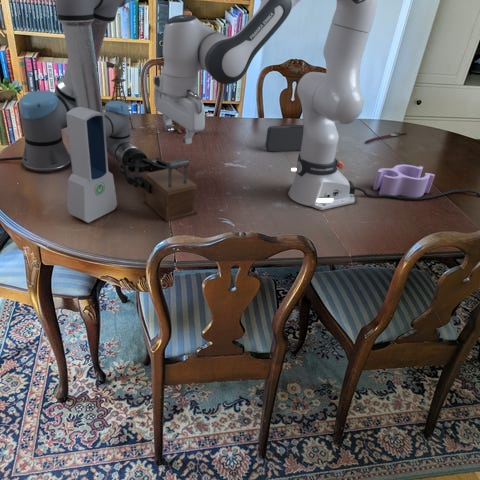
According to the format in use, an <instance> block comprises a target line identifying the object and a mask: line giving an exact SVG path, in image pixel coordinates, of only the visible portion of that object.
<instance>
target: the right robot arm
mask: <svg viewBox="0 0 480 480" xmlns="http://www.w3.org/2000/svg"><path fill="white" fill-rule="evenodd" d="M300 2H301V0H260V4H259V6H258V9H257V10H256V12H255V13H254V14H253V15H252V17H250V19H249V20H248V21H247V22H246V23H245V24H244V25H243V27H242V28H240V30H239V31H238V32H237V33H235V34H234V35H232V36H227V35H225V34H223V33H222V32H220V31H217V30H216V29H213V28H211V27H209V26H207V25H206V24H205V23H203V22H202V21H201V20H200V19H198V17H197V16H196V15H191V14H179V15H174V16H172V17H170V18H169V19H168V20H166V22H165V25H164V29H163V37H162V58H163V67H162V73H161V75H154V76H153V78H152V80H153V81H152V83H153V85H154V87H153V88H154V90H153V99H154V107H155V109H156V111H157V112H159V113H160V114H162V119H163V122H164V125H165V126H164V127H165V131H166V132H168V133H173V132H174V131H175V130H174V129H175V127H174V125H172V122H173V121H174V123H175V122H176V123H178V124H180V125H181V126H180V127H182V128H185V132H186V133H185V135H183V136H182V138H183V139H182V142H183V143H184V144H186V145H191V144H192V142H193V137H194V135H195V134H196V133H199V132H200V133H201V132H203V131H204V129H205V127H206V113H205V112H206V111H205V110H206V109H205V105H204V102H203V100H202V99H201V96H200V94H198V75H199V72H200V71H205V72H207V73H208V74H209V75H210V76H211V78H213V80H215V81H216V83H217V82H218V83H219V84H222V85H232V84H234V83H237V82H239V81H240V80H242V79H243V77H244V76H245V74H246V73H247V71H248V70H249V67H250V65H251V64H252V61H253V59H254V58H255V56H256V55H257V54H258V52H259V51H260V50H261V49H262V48H263V47H264V45H266V43H267V42H268V41H269V40H270V39H271V38H272V37H273V36H274V34H275V33H276V32H277V30H279V28H280V27H281V26H282V24H283V23H284V22H285V21H286V20H287V18H288V17H289V15H290V14H291V11H292V10H293V9H294V8H295V7H296V5H298V3H300ZM377 3H378V0H336V6H335V10H334V13H333V16H332V19H331V23H330V25H329V29H328V33H327V36H326V40H325V43H324V46H323V51H322V52H323V53H322V54H323V57H324V61H325V66H326V67H325V72H320V71H311V72H310V71H309V72H307V73H305V74H304V75H303V76H301V78H300V79H299V81H298V84H297V89H296V93H297V96H298V98H299V101H300V104H301V105H300V106H301V111H302V113H301V114H302V123H303V124H302V125H303V139H302V145H301V150H300V151H299V153H298V156H297V161H296V166H295V167H291V170H290V171H291V172H295V174H294V175H295V176H294V178H293V181H292V184H291V186H290V188H289V190H288V193H287V194H288V196H289V198H290V199H291V200H292V201H294V202H296V203H298V204H300V205H303V206H307V207H312V208H315V209H317V210H319V211H324V210H328V209H332V208H338V207H341V206H345V205H346V206H347V205H351V204H354V203H355V202H356V198H355V196H354V195H355V191H356V190H357V191H360V192H362V193H363V195H365V196H366V197H369V198H376V199H377V198H388V199H389V198H390V199H398V200H403V201H404V200H405V201H420V200H421V201H422V200H423V201H424V200H429V199H434V198H438V197H441V196H446V195H450V194H454V193H455V194H456V193H471V194H475V193H476V194H475V195H477V196H478V197H479V198H480V192H478V191H476V190H473V189H452V190H448V191H445V192H440V193H437V194H434V195H428V196H421V197H406V196H401V195H396V196H393V195H380V194H370V193H368V192H367V191H366V190H365V189H364V188H361V187H359V186H355V185H354V184H353V182H352V181H351V180H348V178H346V176H345V175H344V174H343V173H342V172H341V171H339V170H338V169H340V170H342V169H344V167H345V163H343V162H342V161H341V160H338V159H337V158H336V155H337V154H336V153H337V149H338V144H339V140H340V139H339V138H340V137H339V132H338V129H337V127H336V124H340V125H350V124H353V122H355V121H357V119H359V117H360V116H361V114H362V111H363V110H364V98H363V95H362V93H361V87H360V71H361V65H362V64H361V63H362V59H363V55H364V52H365V49H366V45H367V42H368V39H369V36H370V34H371V30H372V27H373V24H374V21H375V16H376V11H377V5H378V4H377ZM173 128H174V129H173ZM195 132H196V133H195ZM465 191H466V192H465Z"/></svg>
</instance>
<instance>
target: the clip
mask: <svg viewBox="0 0 480 480" xmlns="http://www.w3.org/2000/svg"><path fill="white" fill-rule="evenodd" d="M423 169H424V166H422V165H419V166H416V165H411V164H396V165H395V166H394V167H391V168H388V167H387V168H385V167H381V168H379V169H378V170H377V174H376V177H375V181H374V184H373V188H372V189H373V191H378V189H379V192H378V195H393V196H401V197H412V198H416V197H424V194H429V193H430V190H431V188H432V185H433V182H434V179H435V175H436V174H434V173H429V172H424V176H422V177H421V175H422V173H423Z"/></svg>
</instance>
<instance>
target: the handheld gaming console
mask: <svg viewBox="0 0 480 480" xmlns="http://www.w3.org/2000/svg"><path fill="white" fill-rule="evenodd" d="M302 139H303V124H292V125H291V124H290V125H289V124H286V125H285V124H284V125H283V124H281V125H270V126H268V127H267V130H266V139H265V145H264V146H265V150H267V151H268V152H289V151H290V152H292V151H294V152H295V151H301V145H302Z"/></svg>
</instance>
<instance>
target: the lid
mask: <svg viewBox="0 0 480 480" xmlns="http://www.w3.org/2000/svg"><path fill="white" fill-rule="evenodd" d="M166 162H167V168H168V169H165V170H160V171H155V172H145V179H146V178H148V179H149V180H150V181H151V182H152V183H153V184H155V185H156V186H157V187H158V188H159V189H161V190H162V191H163V192H164V193H165V194H167V195H171V194H175V193H179V192H183V191H187V190H192V189H195V190H196V189H197V184H196V183H194V182H193V181H192V180H190V179H189V178H188V167H189V166H190V161H189V159H188V158H182V159H181V158H180V159H176V160H171V161H166ZM176 168H177V170H176ZM180 168H183V173H181V171H179V170H178V169H180Z"/></svg>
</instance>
